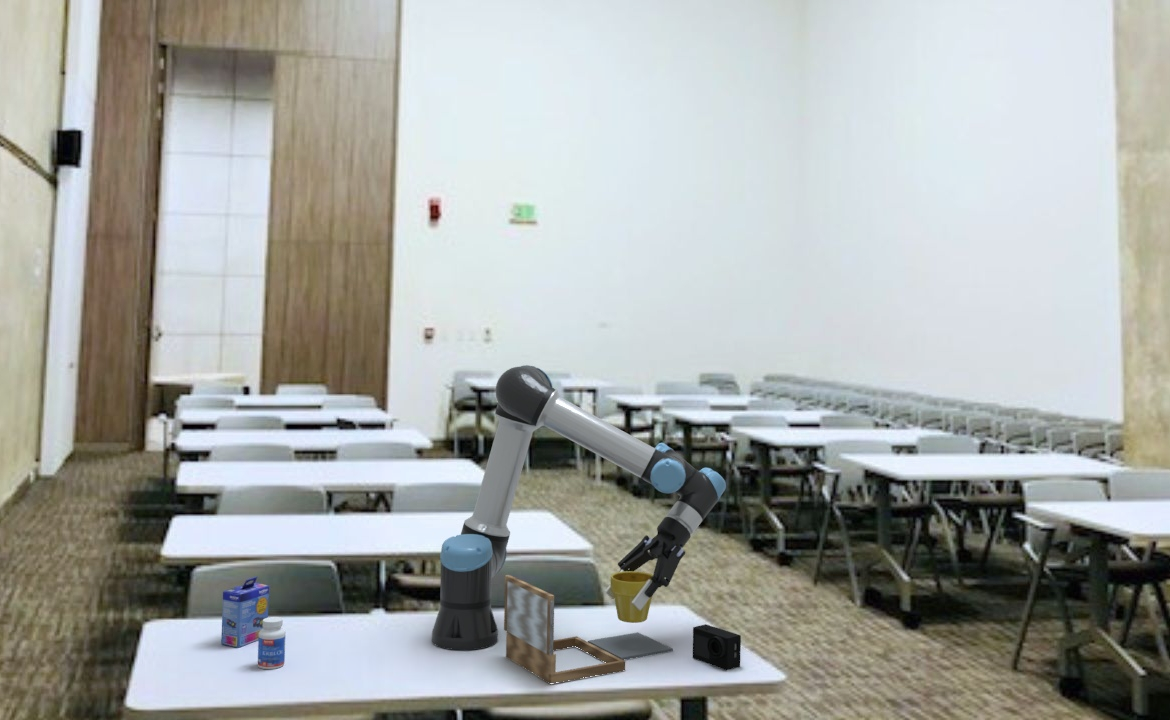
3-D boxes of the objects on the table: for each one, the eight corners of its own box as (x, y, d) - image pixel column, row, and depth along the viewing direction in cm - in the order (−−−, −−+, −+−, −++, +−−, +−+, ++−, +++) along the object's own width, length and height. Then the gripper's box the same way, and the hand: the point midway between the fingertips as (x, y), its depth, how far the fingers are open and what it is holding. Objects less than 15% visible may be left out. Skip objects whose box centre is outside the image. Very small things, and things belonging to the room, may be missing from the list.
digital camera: (687, 659, 215) (688, 627, 215) (705, 654, 219) (705, 623, 218) (723, 671, 207) (723, 639, 207) (740, 667, 210) (740, 634, 210)
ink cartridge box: (239, 648, 216) (240, 583, 216) (219, 645, 218) (220, 580, 218) (269, 636, 225) (270, 574, 225) (250, 633, 227) (251, 571, 227)
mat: (587, 643, 225) (587, 640, 225) (637, 634, 232) (637, 632, 232) (621, 660, 213) (621, 657, 213) (673, 651, 220) (673, 648, 220)
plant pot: (656, 625, 217) (657, 582, 217) (610, 625, 217) (610, 581, 217) (654, 613, 228) (655, 571, 227) (610, 612, 228) (610, 570, 228)
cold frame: (503, 657, 214) (505, 575, 213) (576, 645, 223) (578, 566, 223) (548, 685, 197) (550, 596, 196) (625, 670, 206) (626, 585, 206)
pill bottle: (259, 671, 202) (260, 624, 202) (255, 663, 206) (256, 617, 206) (287, 667, 204) (287, 621, 204) (282, 660, 209) (283, 614, 209)
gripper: (718, 544, 220) (661, 623, 213) (659, 528, 240) (604, 599, 232) (700, 523, 218) (641, 602, 210) (641, 508, 237) (585, 579, 229)
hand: (622, 600), depth 221 cm, fingers closed on plant pot, 10 cm apart
